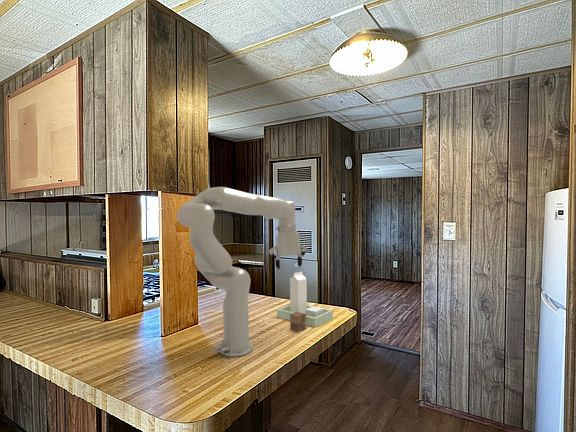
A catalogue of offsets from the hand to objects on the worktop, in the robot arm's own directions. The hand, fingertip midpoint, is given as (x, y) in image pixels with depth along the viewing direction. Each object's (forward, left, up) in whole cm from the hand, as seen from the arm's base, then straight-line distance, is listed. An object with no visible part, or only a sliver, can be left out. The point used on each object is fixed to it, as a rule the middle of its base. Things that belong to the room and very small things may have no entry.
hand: (289, 267), depth 148 cm
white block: (+17, -2, -28) cm, 33 cm away
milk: (+18, +9, -28) cm, 35 cm away
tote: (+17, +5, -28) cm, 33 cm away
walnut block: (+3, -2, -28) cm, 28 cm away
